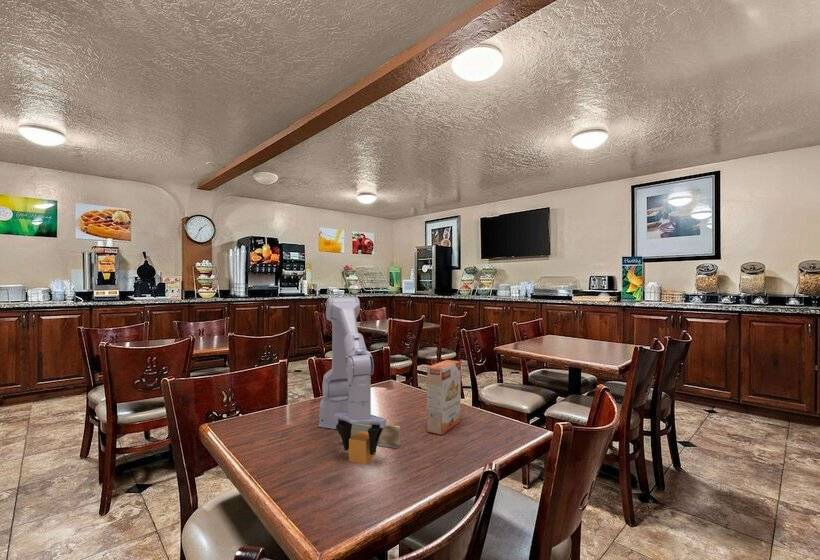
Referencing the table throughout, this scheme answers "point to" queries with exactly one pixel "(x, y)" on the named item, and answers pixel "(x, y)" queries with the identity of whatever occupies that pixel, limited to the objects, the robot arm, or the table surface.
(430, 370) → the cracker box
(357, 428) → the sliding gate
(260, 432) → the table surface
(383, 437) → the wooden track base
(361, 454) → the block
